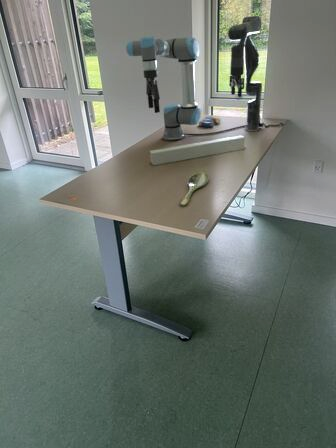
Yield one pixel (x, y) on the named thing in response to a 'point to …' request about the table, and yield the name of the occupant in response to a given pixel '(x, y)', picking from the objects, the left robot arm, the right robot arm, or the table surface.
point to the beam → (197, 150)
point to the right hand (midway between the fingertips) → (236, 95)
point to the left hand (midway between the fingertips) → (154, 110)
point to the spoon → (195, 184)
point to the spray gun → (209, 121)
